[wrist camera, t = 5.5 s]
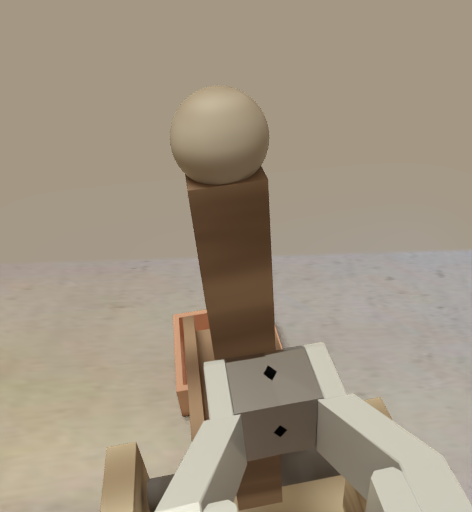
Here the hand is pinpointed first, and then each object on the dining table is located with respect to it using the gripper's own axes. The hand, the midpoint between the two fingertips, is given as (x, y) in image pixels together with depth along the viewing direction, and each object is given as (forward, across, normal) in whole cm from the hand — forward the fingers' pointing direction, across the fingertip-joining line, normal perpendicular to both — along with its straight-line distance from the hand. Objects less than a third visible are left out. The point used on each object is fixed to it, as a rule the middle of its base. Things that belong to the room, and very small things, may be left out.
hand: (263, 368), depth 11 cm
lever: (+11, 0, -16) cm, 19 cm away
